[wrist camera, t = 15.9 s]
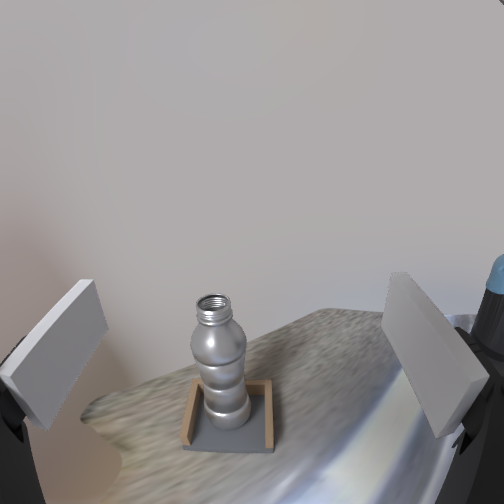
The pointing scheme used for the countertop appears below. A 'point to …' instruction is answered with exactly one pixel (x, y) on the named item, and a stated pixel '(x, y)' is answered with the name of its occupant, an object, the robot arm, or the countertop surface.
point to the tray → (236, 440)
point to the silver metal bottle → (221, 362)
